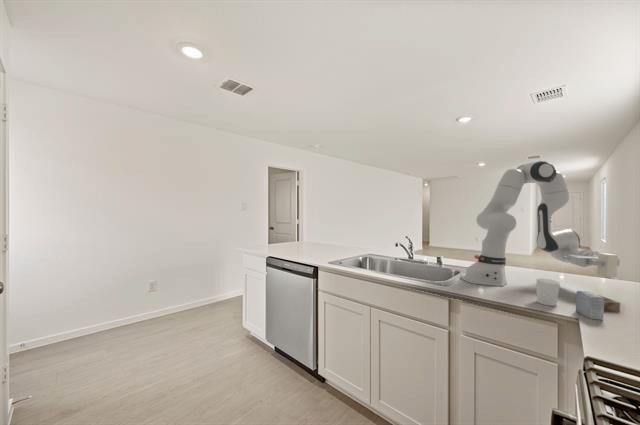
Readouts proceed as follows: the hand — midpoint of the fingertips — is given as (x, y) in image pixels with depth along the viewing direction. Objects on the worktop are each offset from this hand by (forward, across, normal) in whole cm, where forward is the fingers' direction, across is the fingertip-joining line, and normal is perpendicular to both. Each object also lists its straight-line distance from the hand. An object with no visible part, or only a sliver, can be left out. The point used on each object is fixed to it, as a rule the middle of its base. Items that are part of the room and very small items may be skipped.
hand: (609, 264), depth 125 cm
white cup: (+7, -32, +17) cm, 37 cm away
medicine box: (+19, -26, +17) cm, 36 cm away
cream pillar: (-1, 0, +6) cm, 6 cm away
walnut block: (+9, -12, +17) cm, 23 cm away
